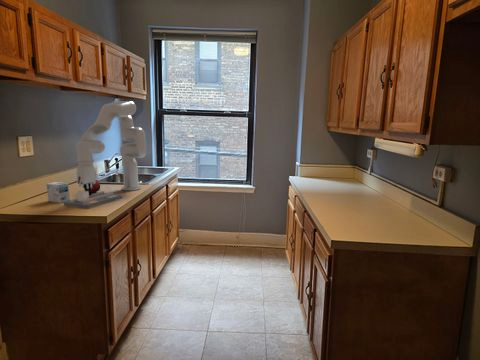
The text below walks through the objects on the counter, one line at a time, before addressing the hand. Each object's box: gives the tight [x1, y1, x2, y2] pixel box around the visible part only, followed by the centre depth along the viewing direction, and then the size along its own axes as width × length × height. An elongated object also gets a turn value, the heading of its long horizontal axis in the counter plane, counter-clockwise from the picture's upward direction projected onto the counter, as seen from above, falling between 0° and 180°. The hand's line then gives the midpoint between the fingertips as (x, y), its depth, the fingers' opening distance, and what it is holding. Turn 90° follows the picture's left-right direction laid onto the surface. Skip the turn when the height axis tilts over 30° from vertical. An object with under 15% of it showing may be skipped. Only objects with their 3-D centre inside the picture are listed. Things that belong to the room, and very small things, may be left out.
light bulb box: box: [46, 181, 71, 204], centre depth 189 cm, size 11×7×11 cm, turn 66°
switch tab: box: [75, 190, 89, 202], centre depth 181 cm, size 4×5×5 cm
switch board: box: [63, 191, 123, 209], centre depth 189 cm, size 26×18×4 cm
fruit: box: [83, 179, 101, 194], centre depth 211 cm, size 11×10×10 cm
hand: (88, 195), depth 185 cm, fingers closed
